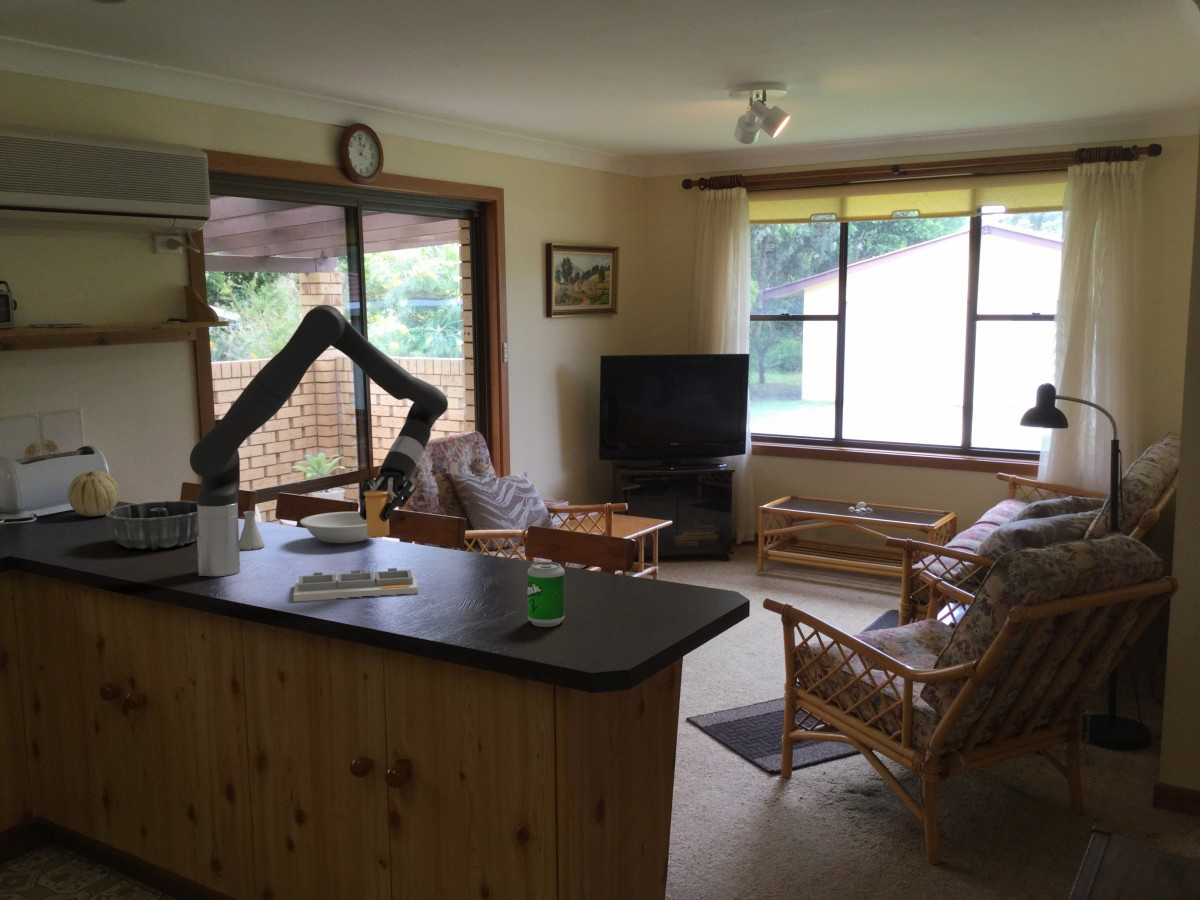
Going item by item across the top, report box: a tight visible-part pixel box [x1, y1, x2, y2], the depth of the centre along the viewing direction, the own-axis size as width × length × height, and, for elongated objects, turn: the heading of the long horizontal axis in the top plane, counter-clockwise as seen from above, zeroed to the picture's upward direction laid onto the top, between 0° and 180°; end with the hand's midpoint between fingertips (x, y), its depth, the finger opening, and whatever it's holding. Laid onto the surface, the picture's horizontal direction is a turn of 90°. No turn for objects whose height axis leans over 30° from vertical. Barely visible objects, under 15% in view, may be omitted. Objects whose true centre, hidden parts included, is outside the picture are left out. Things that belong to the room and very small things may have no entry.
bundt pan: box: [105, 500, 198, 551], centre depth 275 cm, size 26×26×10 cm
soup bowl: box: [299, 511, 371, 544], centre depth 279 cm, size 24×24×7 cm
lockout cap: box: [364, 490, 390, 538], centre depth 226 cm, size 6×6×10 cm
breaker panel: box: [293, 567, 419, 602], centre depth 227 cm, size 27×14×3 cm, turn 105°
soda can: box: [527, 561, 566, 628], centre depth 201 cm, size 8×8×12 cm
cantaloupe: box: [67, 470, 120, 518], centre depth 315 cm, size 15×15×15 cm
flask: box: [239, 510, 265, 551], centre depth 270 cm, size 7×7×10 cm
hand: (372, 518), depth 225 cm, fingers closed on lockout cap, 5 cm apart
